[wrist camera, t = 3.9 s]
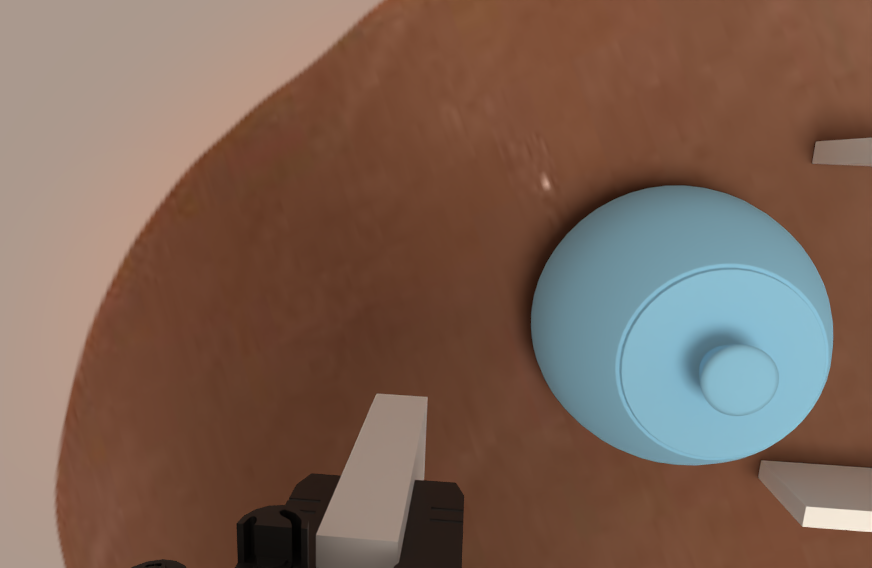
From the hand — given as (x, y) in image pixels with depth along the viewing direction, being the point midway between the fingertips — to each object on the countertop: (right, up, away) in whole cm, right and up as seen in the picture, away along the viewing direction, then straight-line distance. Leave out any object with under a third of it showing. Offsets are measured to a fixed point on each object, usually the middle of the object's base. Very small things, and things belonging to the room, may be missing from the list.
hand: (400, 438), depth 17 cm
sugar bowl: (+14, +3, +18) cm, 23 cm away
